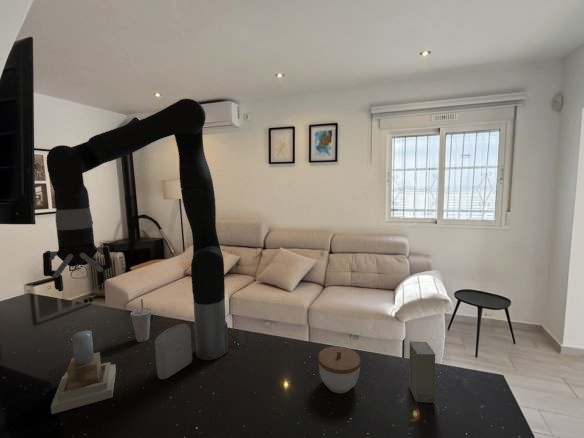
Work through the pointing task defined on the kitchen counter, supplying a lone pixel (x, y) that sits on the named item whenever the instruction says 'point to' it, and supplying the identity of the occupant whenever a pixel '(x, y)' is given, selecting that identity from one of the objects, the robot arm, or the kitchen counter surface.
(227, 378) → the kitchen counter surface
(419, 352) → the skincare box
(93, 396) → the cream base
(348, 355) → the lidded jar
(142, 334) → the smoothie
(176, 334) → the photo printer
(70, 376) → the oak block
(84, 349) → the grey post
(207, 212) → the robot arm
